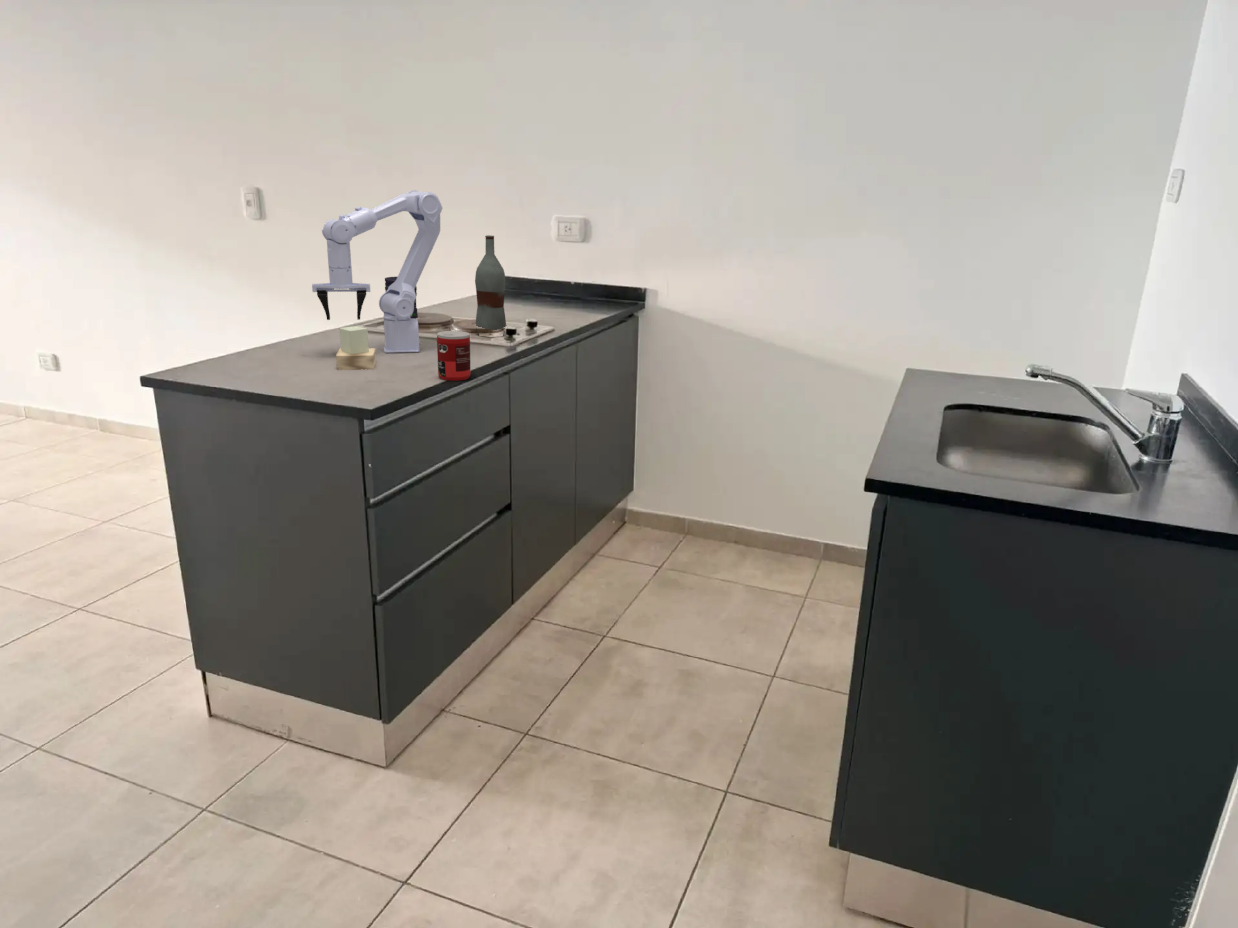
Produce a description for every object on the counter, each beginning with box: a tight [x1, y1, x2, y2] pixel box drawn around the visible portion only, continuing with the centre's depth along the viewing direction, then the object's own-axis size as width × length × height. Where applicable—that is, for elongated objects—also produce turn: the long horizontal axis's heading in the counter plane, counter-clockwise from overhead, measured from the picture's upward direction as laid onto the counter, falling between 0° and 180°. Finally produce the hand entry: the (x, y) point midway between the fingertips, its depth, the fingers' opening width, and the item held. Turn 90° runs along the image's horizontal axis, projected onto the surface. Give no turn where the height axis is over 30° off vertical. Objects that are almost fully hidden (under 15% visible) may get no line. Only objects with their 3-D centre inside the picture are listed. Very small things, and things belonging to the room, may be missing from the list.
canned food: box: [436, 330, 471, 382], centre depth 209 cm, size 8×8×11 cm
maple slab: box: [335, 347, 377, 371], centre depth 218 cm, size 9×9×4 cm
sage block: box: [339, 325, 370, 355], centre depth 216 cm, size 5×5×6 cm
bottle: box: [474, 234, 507, 330], centre depth 259 cm, size 9×9×30 cm
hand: (343, 319), depth 225 cm, fingers open, 7 cm apart
